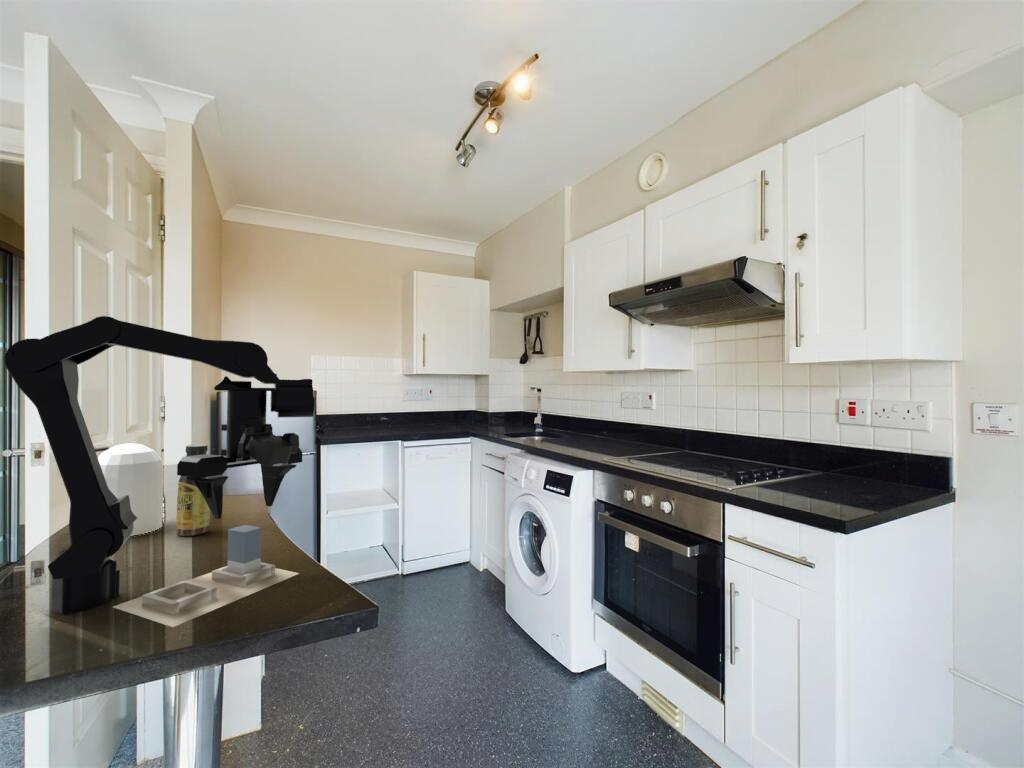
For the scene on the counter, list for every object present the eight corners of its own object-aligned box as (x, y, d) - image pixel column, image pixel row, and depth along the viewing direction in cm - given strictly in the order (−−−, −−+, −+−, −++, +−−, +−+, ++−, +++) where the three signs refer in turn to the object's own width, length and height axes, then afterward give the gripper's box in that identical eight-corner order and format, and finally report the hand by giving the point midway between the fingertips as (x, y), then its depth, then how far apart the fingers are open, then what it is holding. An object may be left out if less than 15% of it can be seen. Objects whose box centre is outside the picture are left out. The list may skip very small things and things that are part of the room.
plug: (243, 582, 75) (244, 532, 75) (227, 578, 76) (228, 529, 76) (260, 575, 77) (261, 527, 78) (244, 572, 79) (245, 524, 79)
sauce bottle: (170, 535, 103) (172, 445, 103) (199, 527, 109) (201, 442, 109) (186, 539, 100) (188, 447, 100) (216, 531, 105) (218, 444, 106)
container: (100, 526, 109) (102, 441, 110) (169, 520, 115) (171, 439, 116) (75, 543, 97) (78, 447, 98) (154, 535, 103) (156, 444, 103)
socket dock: (172, 634, 60) (173, 615, 60) (112, 613, 66) (112, 596, 66) (299, 579, 79) (299, 564, 79) (243, 566, 84) (243, 552, 84)
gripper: (225, 422, 66) (222, 533, 65) (325, 417, 83) (324, 504, 83) (176, 420, 70) (173, 523, 70) (281, 415, 87) (279, 499, 87)
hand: (244, 512), depth 77 cm, fingers open, 9 cm apart
